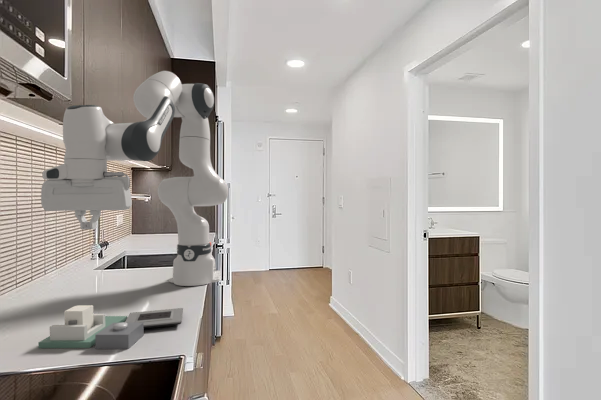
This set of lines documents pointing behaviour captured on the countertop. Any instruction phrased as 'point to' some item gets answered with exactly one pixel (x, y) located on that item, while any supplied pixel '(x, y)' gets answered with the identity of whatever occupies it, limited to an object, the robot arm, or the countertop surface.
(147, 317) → the electrical outlet
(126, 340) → the grey push button
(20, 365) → the countertop surface
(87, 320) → the plug
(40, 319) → the countertop surface
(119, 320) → the board
